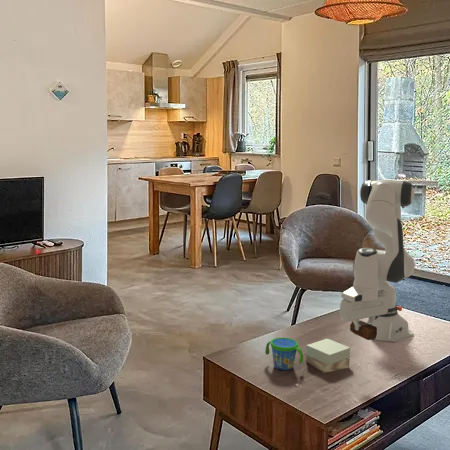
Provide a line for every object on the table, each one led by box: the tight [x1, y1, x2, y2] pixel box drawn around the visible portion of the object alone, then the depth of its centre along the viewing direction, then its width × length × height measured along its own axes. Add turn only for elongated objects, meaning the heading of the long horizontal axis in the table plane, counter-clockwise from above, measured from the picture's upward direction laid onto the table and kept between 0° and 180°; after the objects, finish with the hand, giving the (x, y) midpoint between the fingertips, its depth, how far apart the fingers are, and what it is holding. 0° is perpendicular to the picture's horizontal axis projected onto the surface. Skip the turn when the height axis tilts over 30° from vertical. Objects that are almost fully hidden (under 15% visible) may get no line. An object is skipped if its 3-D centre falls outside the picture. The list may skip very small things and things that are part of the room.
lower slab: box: [305, 355, 350, 374], centre depth 217 cm, size 12×12×4 cm
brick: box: [349, 320, 377, 341], centre depth 204 cm, size 11×4×5 cm, turn 27°
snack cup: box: [265, 337, 304, 372], centre depth 214 cm, size 16×10×10 cm
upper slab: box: [305, 338, 351, 365], centre depth 217 cm, size 12×12×4 cm
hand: (363, 328), depth 204 cm, fingers closed on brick, 4 cm apart
